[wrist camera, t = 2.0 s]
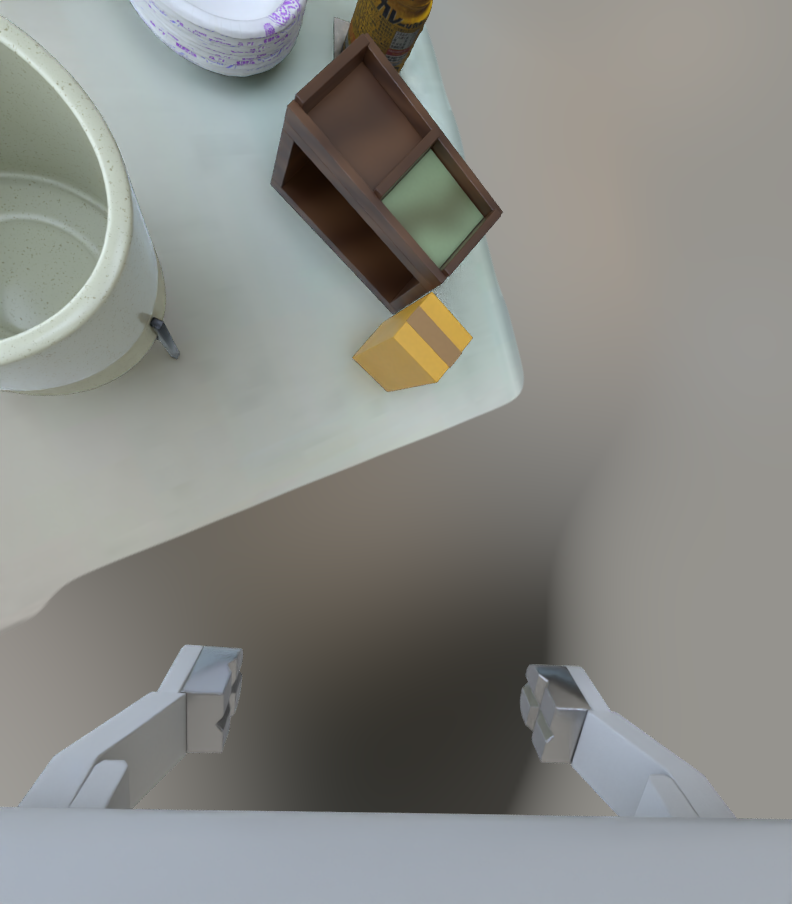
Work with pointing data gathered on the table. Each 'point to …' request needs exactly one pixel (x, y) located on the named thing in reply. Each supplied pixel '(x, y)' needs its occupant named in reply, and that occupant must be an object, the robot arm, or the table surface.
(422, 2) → the condiment
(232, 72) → the paper bowls
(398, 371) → the package
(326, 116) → the rack
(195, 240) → the table surface
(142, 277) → the planter
